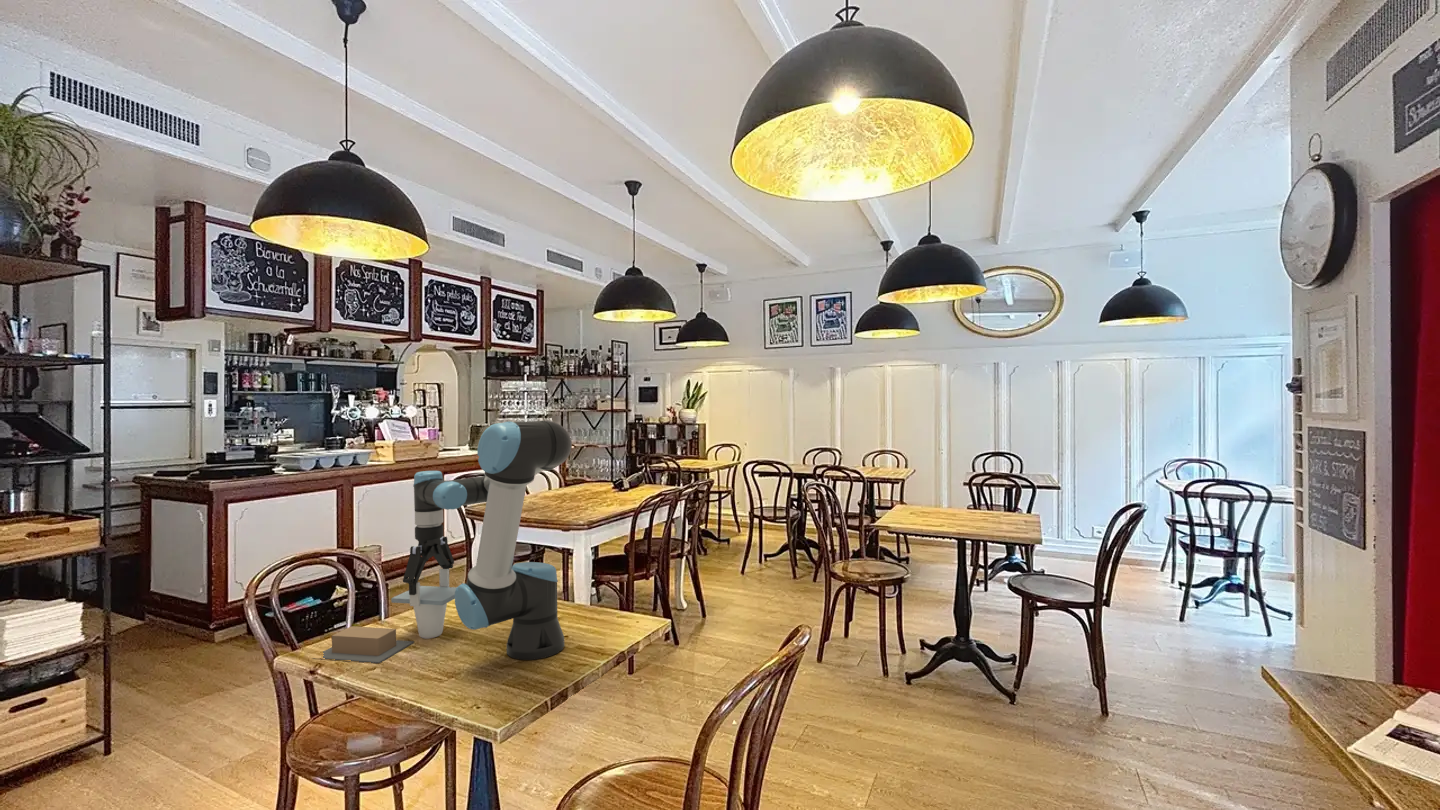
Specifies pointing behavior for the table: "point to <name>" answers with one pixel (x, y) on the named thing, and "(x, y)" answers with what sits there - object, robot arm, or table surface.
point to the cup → (430, 619)
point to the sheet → (429, 595)
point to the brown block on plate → (365, 644)
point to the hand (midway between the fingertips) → (430, 598)
